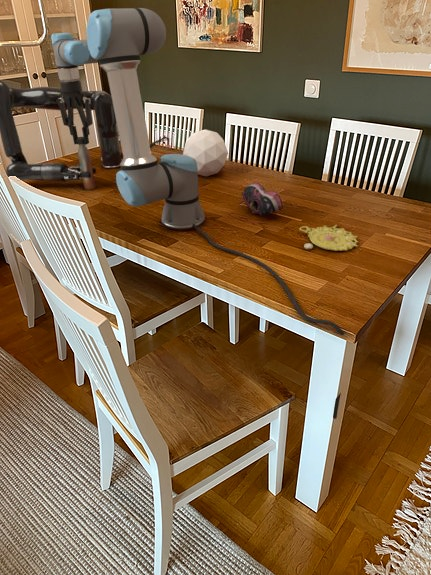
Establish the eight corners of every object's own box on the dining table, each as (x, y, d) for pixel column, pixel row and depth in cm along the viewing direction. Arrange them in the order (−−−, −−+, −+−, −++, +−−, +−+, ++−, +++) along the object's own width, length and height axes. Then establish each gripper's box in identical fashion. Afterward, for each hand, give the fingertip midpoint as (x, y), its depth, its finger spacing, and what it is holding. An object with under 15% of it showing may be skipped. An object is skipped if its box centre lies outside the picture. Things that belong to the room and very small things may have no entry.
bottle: (98, 187, 189) (89, 139, 178) (89, 190, 186) (80, 141, 175) (90, 185, 192) (82, 137, 181) (82, 188, 188) (72, 140, 178)
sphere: (211, 192, 199) (209, 165, 180) (177, 170, 204) (171, 142, 185) (236, 162, 204) (236, 133, 185) (201, 142, 209) (198, 112, 190)
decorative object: (343, 255, 128) (285, 234, 139) (342, 262, 130) (284, 241, 140) (372, 230, 142) (317, 213, 152) (371, 237, 143) (316, 219, 153)
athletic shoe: (254, 181, 170) (227, 189, 167) (283, 176, 151) (253, 185, 147) (260, 210, 173) (234, 218, 170) (290, 209, 154) (261, 219, 150)
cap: (87, 143, 178) (86, 138, 177) (77, 145, 177) (76, 139, 175) (86, 141, 181) (85, 136, 180) (76, 142, 180) (75, 137, 179)
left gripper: (45, 168, 179) (85, 169, 177) (59, 158, 191) (97, 158, 189) (49, 186, 183) (88, 187, 181) (63, 175, 195) (100, 176, 193)
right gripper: (95, 78, 168) (105, 141, 181) (54, 79, 171) (66, 140, 183) (86, 81, 162) (97, 146, 174) (44, 81, 165) (58, 145, 177)
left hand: (93, 172), depth 185 cm, fingers closed on bottle, 4 cm apart
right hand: (81, 143), depth 179 cm, fingers closed on cap, 4 cm apart
